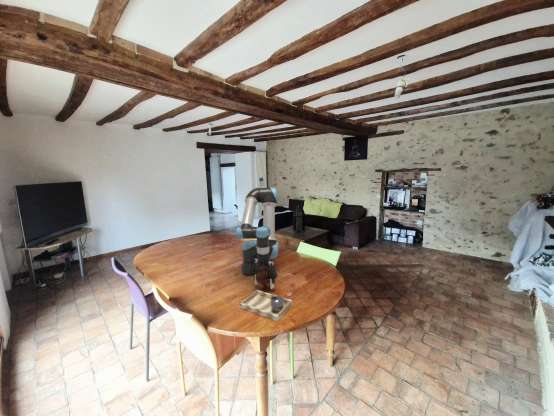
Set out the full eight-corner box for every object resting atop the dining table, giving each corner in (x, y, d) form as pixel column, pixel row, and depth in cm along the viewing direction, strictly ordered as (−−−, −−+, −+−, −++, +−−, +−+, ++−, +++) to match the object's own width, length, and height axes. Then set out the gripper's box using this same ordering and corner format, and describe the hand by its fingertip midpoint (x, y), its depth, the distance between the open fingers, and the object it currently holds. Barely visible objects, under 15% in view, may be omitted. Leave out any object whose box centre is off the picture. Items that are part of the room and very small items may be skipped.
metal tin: (269, 311, 119) (268, 300, 118) (275, 304, 125) (274, 294, 124) (279, 314, 116) (279, 304, 115) (285, 308, 122) (285, 298, 121)
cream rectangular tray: (240, 309, 123) (239, 303, 123) (257, 295, 137) (256, 289, 136) (277, 323, 111) (277, 316, 111) (292, 306, 125) (292, 300, 124)
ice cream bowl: (273, 285, 148) (272, 263, 146) (273, 294, 137) (272, 271, 135) (256, 286, 148) (255, 264, 145) (255, 295, 137) (254, 272, 134)
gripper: (244, 251, 141) (246, 284, 145) (276, 257, 129) (277, 293, 133) (251, 247, 147) (253, 279, 151) (282, 253, 136) (283, 287, 139)
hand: (264, 285), depth 142 cm, fingers closed on ice cream bowl, 11 cm apart
